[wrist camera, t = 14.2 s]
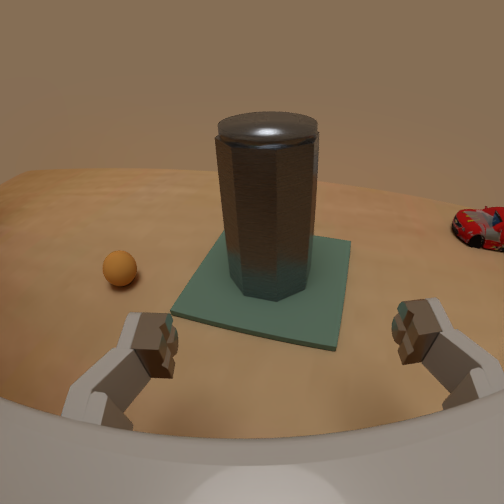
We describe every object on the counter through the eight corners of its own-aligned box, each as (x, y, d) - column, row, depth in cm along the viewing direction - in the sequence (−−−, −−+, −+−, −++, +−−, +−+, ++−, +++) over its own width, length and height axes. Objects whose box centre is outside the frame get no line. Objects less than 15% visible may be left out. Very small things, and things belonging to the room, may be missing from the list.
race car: (455, 248, 28) (466, 215, 25) (445, 221, 32) (453, 191, 29) (540, 263, 24) (553, 235, 22) (525, 237, 28) (535, 211, 26)
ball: (103, 289, 25) (91, 262, 23) (121, 267, 27) (112, 241, 25) (128, 296, 24) (117, 269, 22) (147, 273, 26) (138, 246, 24)
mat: (171, 314, 22) (169, 310, 22) (229, 227, 31) (228, 223, 31) (335, 351, 19) (336, 346, 19) (350, 245, 28) (350, 241, 28)
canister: (221, 291, 24) (200, 133, 16) (246, 245, 28) (237, 110, 21) (300, 306, 22) (310, 138, 15) (313, 255, 26) (322, 114, 19)
